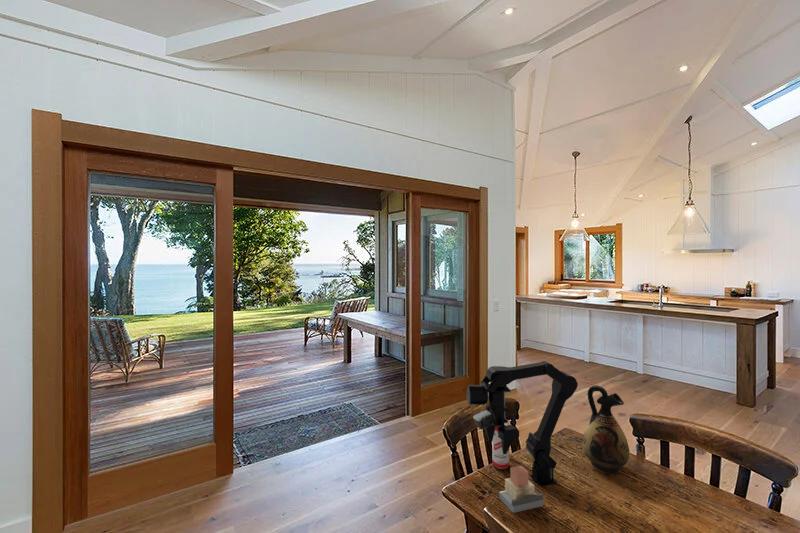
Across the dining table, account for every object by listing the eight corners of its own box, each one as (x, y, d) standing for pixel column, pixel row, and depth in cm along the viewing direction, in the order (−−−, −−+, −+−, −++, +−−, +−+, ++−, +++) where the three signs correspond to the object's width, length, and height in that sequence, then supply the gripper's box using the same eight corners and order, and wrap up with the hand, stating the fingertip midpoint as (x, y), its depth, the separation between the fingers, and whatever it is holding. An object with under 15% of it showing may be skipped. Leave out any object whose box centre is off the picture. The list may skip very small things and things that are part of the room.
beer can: (510, 470, 137) (509, 427, 137) (493, 469, 138) (492, 426, 138) (508, 462, 143) (508, 421, 143) (492, 460, 144) (491, 419, 144)
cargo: (520, 477, 122) (520, 465, 122) (528, 484, 118) (528, 471, 118) (510, 479, 120) (510, 467, 120) (517, 486, 117) (517, 474, 116)
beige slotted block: (523, 486, 123) (523, 475, 123) (534, 497, 117) (534, 485, 117) (505, 490, 121) (504, 478, 121) (515, 502, 115) (515, 489, 115)
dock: (527, 491, 124) (527, 481, 124) (543, 505, 116) (543, 494, 116) (499, 497, 121) (498, 487, 121) (513, 513, 113) (513, 501, 113)
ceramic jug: (636, 468, 137) (634, 388, 137) (620, 484, 127) (619, 398, 127) (589, 451, 150) (587, 378, 150) (571, 465, 140) (570, 386, 140)
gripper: (464, 397, 136) (464, 439, 136) (490, 416, 119) (491, 465, 118) (490, 394, 140) (491, 435, 140) (519, 412, 122) (520, 459, 122)
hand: (497, 447), depth 130 cm, fingers open, 9 cm apart
